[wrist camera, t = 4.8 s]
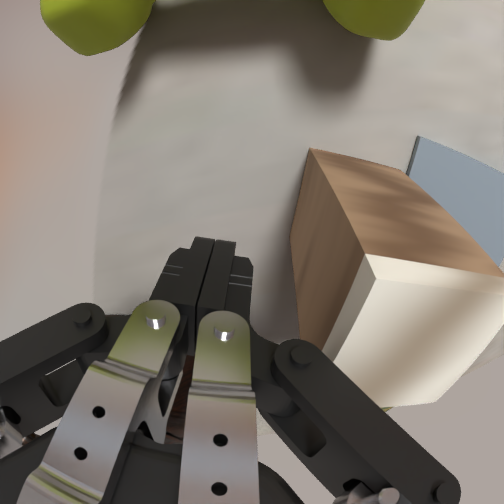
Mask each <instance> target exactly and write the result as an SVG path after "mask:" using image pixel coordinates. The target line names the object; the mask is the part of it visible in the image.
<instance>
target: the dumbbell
mask: <svg viewBox="0 0 504 504" xmlns="http://www.w3.org/2000/svg"><path fill="white" fill-rule="evenodd" d="M155 1H156V0H40V10H41V15H42V18H43V20H44V22H45V24H46V25H47V27H48V28H49V29H50V30H51V31H52V32H53V33H54V34H55V35H56V36H57V37H58V38H60V39H61V40H62V41H63V42H64V43H65V44H66V45H68V46H69V47H70V48H71V49H73V50H74V51H75V52H77V53H79V54H82V55H85V56H91V55H95V54H98V53H102V52H105V51H109V50H112V49H114V48H116V47H119V46H120V45H122V44H123V43H125V42H126V41H127V40H129V39H130V38H131V37H132V36H134V35H135V34H136V33H137V32H138V31H139V29H140V28H141V27H142V26H143V25H144V24H145V22H146V21H147V19H148V17H149V15H150V13H151V10H152V5H153V3H154V2H155ZM322 1H323V2H324V4H325V6H326V8H327V9H328V11H329V12H330V14H331V15H332V16H333V17H334V19H335V20H336V21H337V22H338V23H339V24H341V25H342V26H343V27H344V28H345V29H347V30H348V31H350V32H352V33H354V34H357V35H360V36H364V37H369V38H375V39H380V40H394V39H396V38H398V37H399V36H401V35H402V34H403V33H404V32H405V31H406V30H407V28H408V27H409V25H410V24H411V22H412V21H413V19H414V18H415V16H416V15H417V13H418V12H419V10H420V9H421V7H422V5H423V3H424V1H425V0H322Z"/></svg>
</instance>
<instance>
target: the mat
mask: <svg viewBox="0 0 504 504" xmlns="http://www.w3.org/2000/svg"><path fill="white" fill-rule="evenodd" d="M406 175H407V176H408V177H409V178H411V179H412V180H413V181H414V182H415V183H416V184H417V185H419V186H420V187H421V188H422V189H423V190H424V191H425V192H426V193H428V194H429V195H430V196H431V197H432V198H433V199H434V200H435V201H436V202H437V203H438V204H440V205H441V206H442V207H443V208H444V209H445V210H446V211H447V212H448V213H449V214H450V215H451V216H452V217H453V218H454V219H455V220H456V221H457V222H458V223H459V224H460V225H461V226H462V227H463V228H464V229H465V230H466V231H467V232H468V233H469V234H470V236H471V237H472V238H473V239H474V240H475V241H476V242H477V243H478V244H479V245H480V246H481V248H482V249H483V250H484V251H485V252H486V253H487V254H488V255H489V257H490V258H491V259H492V260H493V261H494V262H495V264H496V265H497V266H498V267H499V266H500V264H501V262H502V260H503V258H504V174H503V173H501V172H499V171H497V170H495V169H494V168H492V167H490V166H488V165H486V164H483V163H481V162H479V161H477V160H475V159H473V158H471V157H469V156H466V155H464V154H462V153H460V152H457V151H455V150H453V149H450V148H448V147H446V146H443V145H441V144H438V143H436V142H433V141H431V140H428V139H425V138H423V137H420V136H417V140H416V144H415V147H414V151H413V154H412V158H411V161H410V164H409V168H408V171H407V174H406Z"/></svg>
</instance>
